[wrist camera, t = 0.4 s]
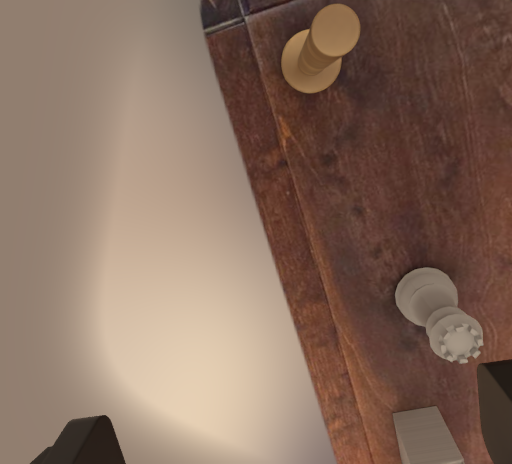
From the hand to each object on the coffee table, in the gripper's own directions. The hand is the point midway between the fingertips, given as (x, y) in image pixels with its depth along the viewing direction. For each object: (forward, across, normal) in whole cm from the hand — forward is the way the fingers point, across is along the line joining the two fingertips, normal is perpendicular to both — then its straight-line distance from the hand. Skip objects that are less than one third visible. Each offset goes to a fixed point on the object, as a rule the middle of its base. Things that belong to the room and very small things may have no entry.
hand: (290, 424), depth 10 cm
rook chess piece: (+25, -9, +10) cm, 28 cm away
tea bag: (+25, -8, +24) cm, 35 cm away
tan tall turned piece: (+25, -3, -8) cm, 27 cm away
